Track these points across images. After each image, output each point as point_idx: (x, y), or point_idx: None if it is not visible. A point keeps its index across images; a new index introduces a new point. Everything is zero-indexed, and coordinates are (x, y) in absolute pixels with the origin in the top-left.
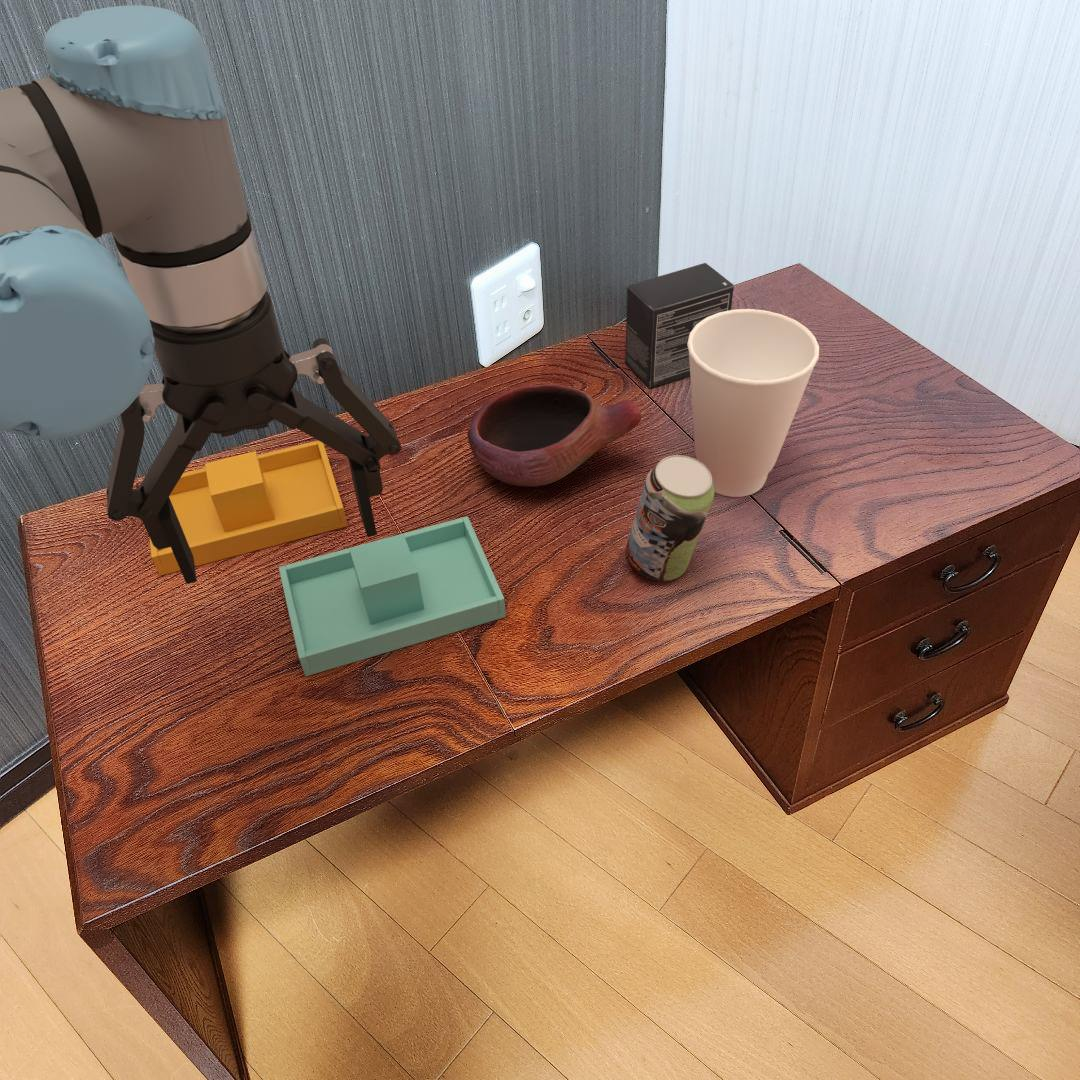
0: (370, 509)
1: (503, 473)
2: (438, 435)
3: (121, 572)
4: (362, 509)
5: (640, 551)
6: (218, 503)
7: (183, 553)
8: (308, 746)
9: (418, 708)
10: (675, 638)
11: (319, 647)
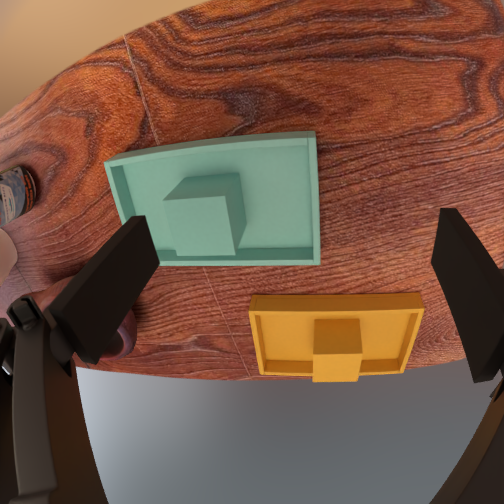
0: (103, 247)
1: None
2: (175, 348)
3: (442, 303)
4: (111, 250)
5: (13, 185)
6: (357, 344)
7: (470, 247)
8: (319, 46)
9: (203, 63)
10: (19, 115)
11: (291, 145)
